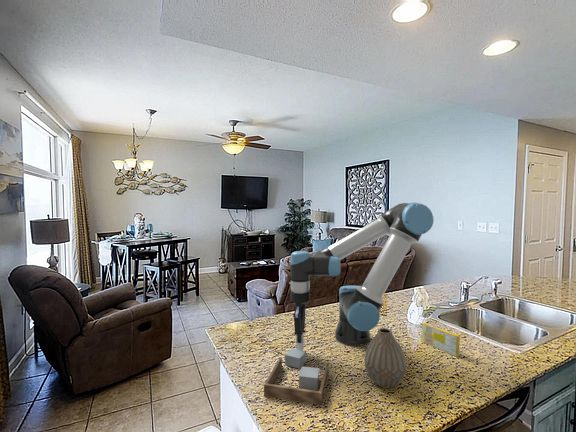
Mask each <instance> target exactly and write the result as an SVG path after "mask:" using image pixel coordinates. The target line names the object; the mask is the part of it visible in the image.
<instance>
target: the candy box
mask: <svg viewBox="0 0 576 432" xmlns="http://www.w3.org/2000/svg"><path fill="white" fill-rule="evenodd" d="M460 337H461V336H460V335H458V334H456V333H454V332H451V331H448V330H446V329H442V328H440V327H437V326H435V325H433V324H430V323H427V322H421V342H422V343H425V344H426V345H429V346H431V347H433V348H436V349H437V350H440V351H442V352H444V353H446V354H448V355H451V356H452V357H455V358H458V357H460V342H461V341H460Z"/></svg>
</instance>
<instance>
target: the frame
mask: <svg viewBox="0 0 576 432" xmlns="http://www.w3.org/2000/svg"><path fill="white" fill-rule="evenodd" d="M282 368H283V357H280V356H279V358H278V360H277V361H276V363H275V365H274V367H273V369H272V371H271V372H270V373H269V376H268V377H267V379H266V381H265V382H264V384H263V397H268V398H274V399H280V400H287V401H294V402H299V403H304V404H312V405H317V406H322V405H323V404H322V403H323V399H324V396H325V392H326V388H327V382H328V378H329V374H330V363H328V362H327V363H326V364H325V368H324V372H323V376H322V380H321V382H320V388H319V390H314V389H306V388H299V387H294V386H288V385H287V386H286V385H280V384H274V383H275V381H276V380H277V377H278V375H279V373H280V372H281V370H282Z"/></svg>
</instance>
